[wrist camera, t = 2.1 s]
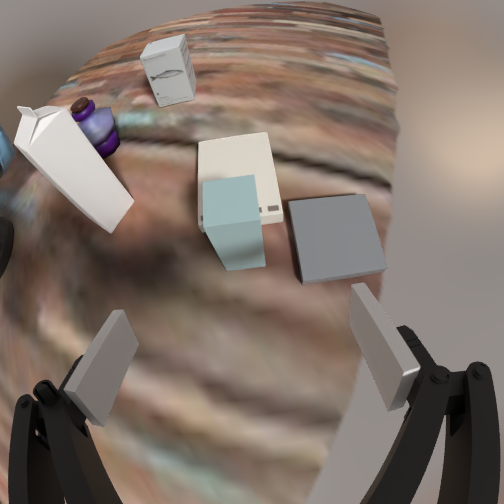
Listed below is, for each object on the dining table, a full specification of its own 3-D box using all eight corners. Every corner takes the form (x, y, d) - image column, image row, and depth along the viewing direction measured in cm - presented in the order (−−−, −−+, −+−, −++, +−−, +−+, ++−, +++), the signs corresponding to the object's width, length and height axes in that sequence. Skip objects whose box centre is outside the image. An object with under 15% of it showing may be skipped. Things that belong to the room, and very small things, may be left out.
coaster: (382, 272, 29) (387, 268, 28) (302, 284, 30) (303, 281, 28) (361, 200, 33) (364, 194, 32) (288, 207, 34) (288, 201, 32)
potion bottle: (132, 126, 43) (107, 79, 32) (121, 159, 40) (89, 110, 29) (96, 137, 44) (69, 96, 33) (83, 170, 41) (49, 128, 29)
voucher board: (282, 221, 33) (283, 212, 31) (202, 232, 33) (197, 224, 31) (267, 141, 38) (266, 131, 36) (201, 151, 39) (198, 141, 37)
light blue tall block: (265, 266, 31) (260, 219, 21) (226, 271, 31) (203, 227, 21) (261, 230, 33) (254, 173, 23) (224, 235, 33) (202, 181, 23)
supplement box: (158, 109, 45) (137, 58, 33) (164, 89, 47) (147, 42, 36) (195, 101, 44) (179, 46, 33) (198, 82, 47) (184, 32, 35)
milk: (112, 189, 38) (35, 86, 18) (135, 201, 36) (53, 85, 16) (89, 219, 36) (-2, 126, 16) (111, 235, 35) (8, 131, 14)
